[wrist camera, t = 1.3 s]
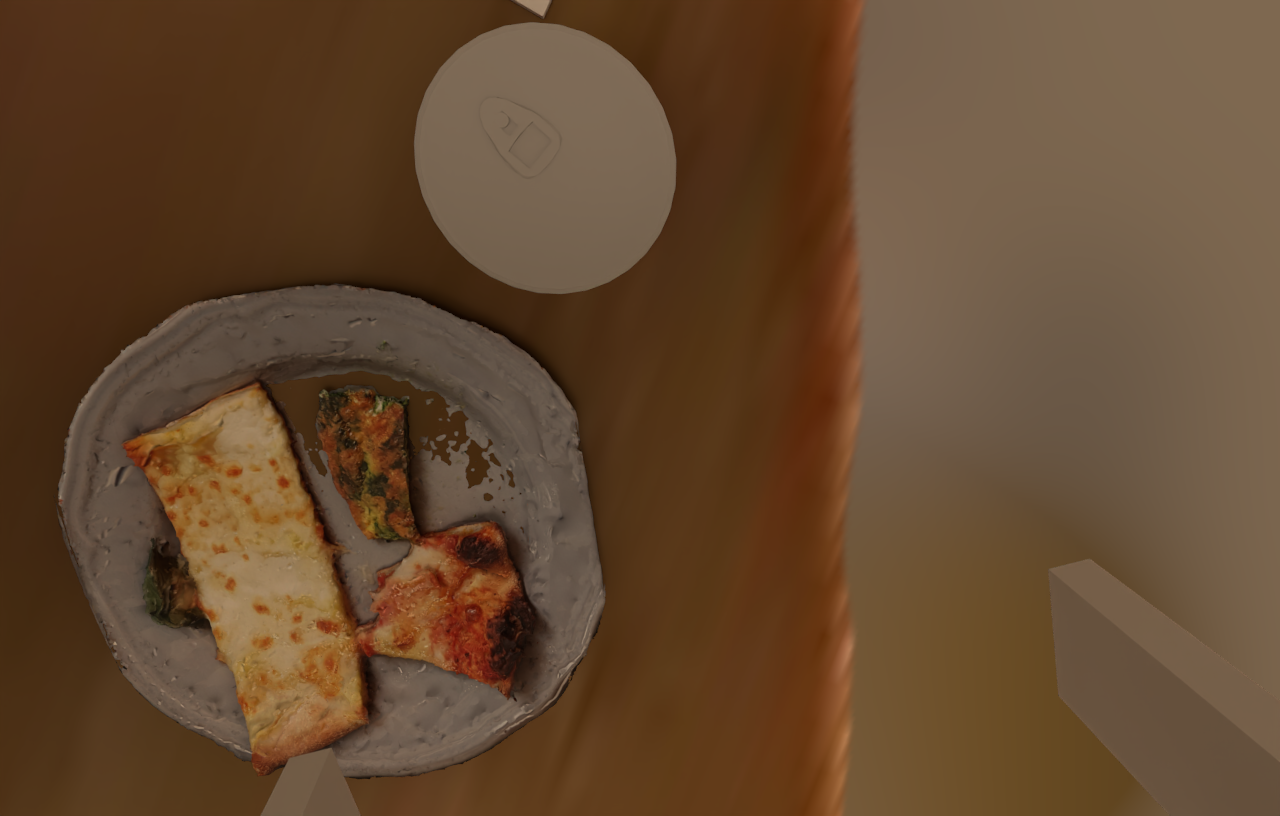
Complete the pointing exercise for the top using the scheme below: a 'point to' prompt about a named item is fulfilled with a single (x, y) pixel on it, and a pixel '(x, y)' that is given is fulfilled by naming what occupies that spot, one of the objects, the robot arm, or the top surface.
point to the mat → (535, 6)
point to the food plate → (332, 532)
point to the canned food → (545, 158)
